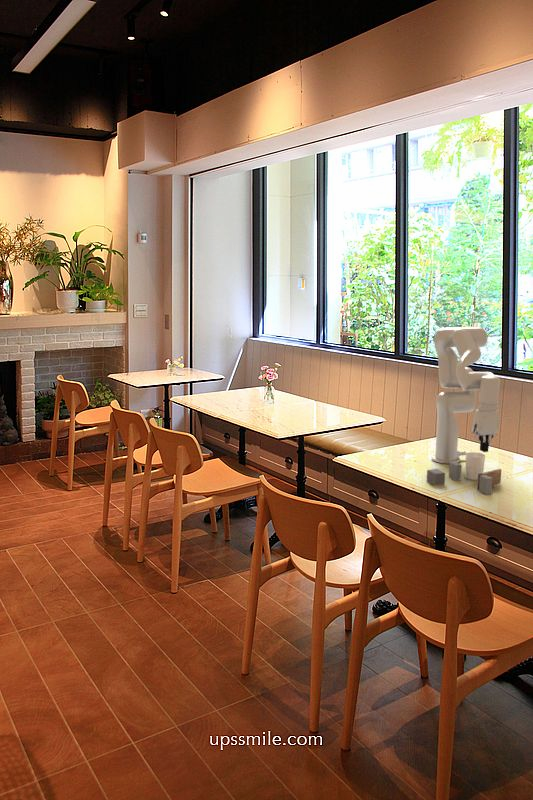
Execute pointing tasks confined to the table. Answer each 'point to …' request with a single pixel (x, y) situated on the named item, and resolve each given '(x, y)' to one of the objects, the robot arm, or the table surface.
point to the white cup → (474, 464)
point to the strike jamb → (455, 471)
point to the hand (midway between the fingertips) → (483, 451)
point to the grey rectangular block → (435, 477)
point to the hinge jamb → (485, 485)
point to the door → (493, 474)
